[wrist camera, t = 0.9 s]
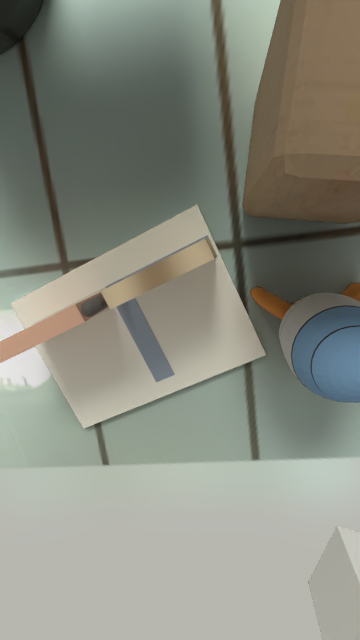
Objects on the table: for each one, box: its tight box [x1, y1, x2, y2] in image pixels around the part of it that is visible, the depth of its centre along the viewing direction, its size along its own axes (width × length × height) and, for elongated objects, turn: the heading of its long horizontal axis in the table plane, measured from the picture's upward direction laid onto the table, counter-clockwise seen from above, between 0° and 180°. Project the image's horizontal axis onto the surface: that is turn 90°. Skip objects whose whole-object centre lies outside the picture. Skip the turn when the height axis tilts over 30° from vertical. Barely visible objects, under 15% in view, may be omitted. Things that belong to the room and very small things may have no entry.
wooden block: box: [243, 0, 360, 224], centre depth 19 cm, size 10×10×20 cm
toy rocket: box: [251, 283, 360, 402], centre depth 26 cm, size 10×11×15 cm
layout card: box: [10, 205, 266, 428], centre depth 34 cm, size 16×22×1 cm
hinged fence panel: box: [0, 292, 109, 363], centre depth 31 cm, size 9×2×7 cm, turn 116°
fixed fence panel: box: [81, 238, 216, 317], centre depth 28 cm, size 11×2×9 cm, turn 116°
